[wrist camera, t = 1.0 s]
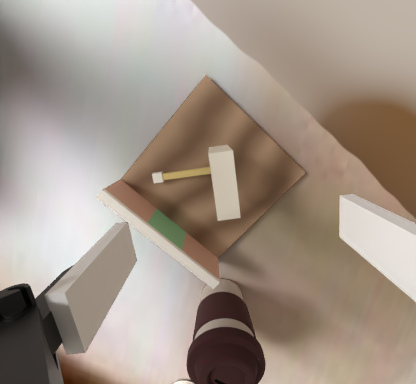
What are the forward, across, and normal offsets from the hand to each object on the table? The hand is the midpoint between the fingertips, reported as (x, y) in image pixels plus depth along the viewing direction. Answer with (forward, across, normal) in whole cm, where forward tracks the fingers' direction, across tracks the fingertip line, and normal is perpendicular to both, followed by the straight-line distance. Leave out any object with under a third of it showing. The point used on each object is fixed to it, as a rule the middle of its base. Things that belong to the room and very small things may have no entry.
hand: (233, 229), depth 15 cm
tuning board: (+23, -2, -1) cm, 23 cm away
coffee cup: (+23, -3, -23) cm, 32 cm away
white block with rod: (+21, -4, 0) cm, 22 cm away
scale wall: (+21, -9, -7) cm, 24 cm away
